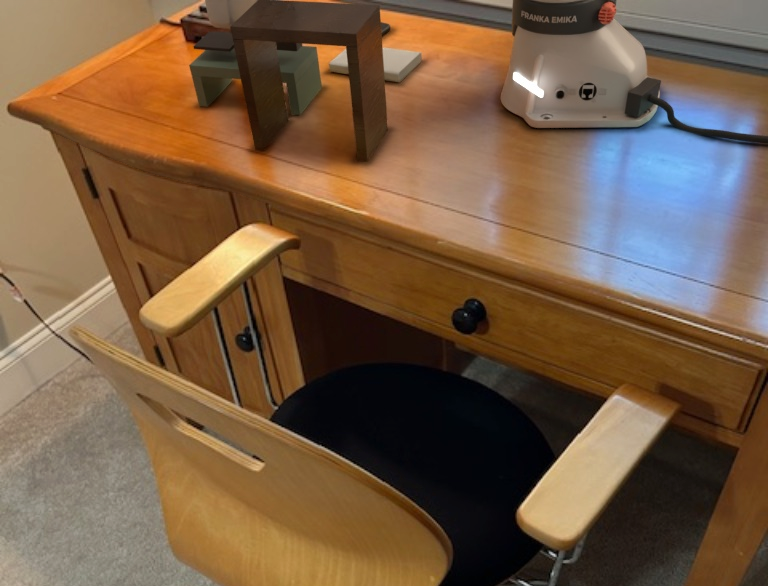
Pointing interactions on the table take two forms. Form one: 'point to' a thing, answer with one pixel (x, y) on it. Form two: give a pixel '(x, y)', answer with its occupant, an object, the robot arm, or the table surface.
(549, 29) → the robot arm
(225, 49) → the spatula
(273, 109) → the high shelf
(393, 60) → the hard drive
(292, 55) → the low shelf
